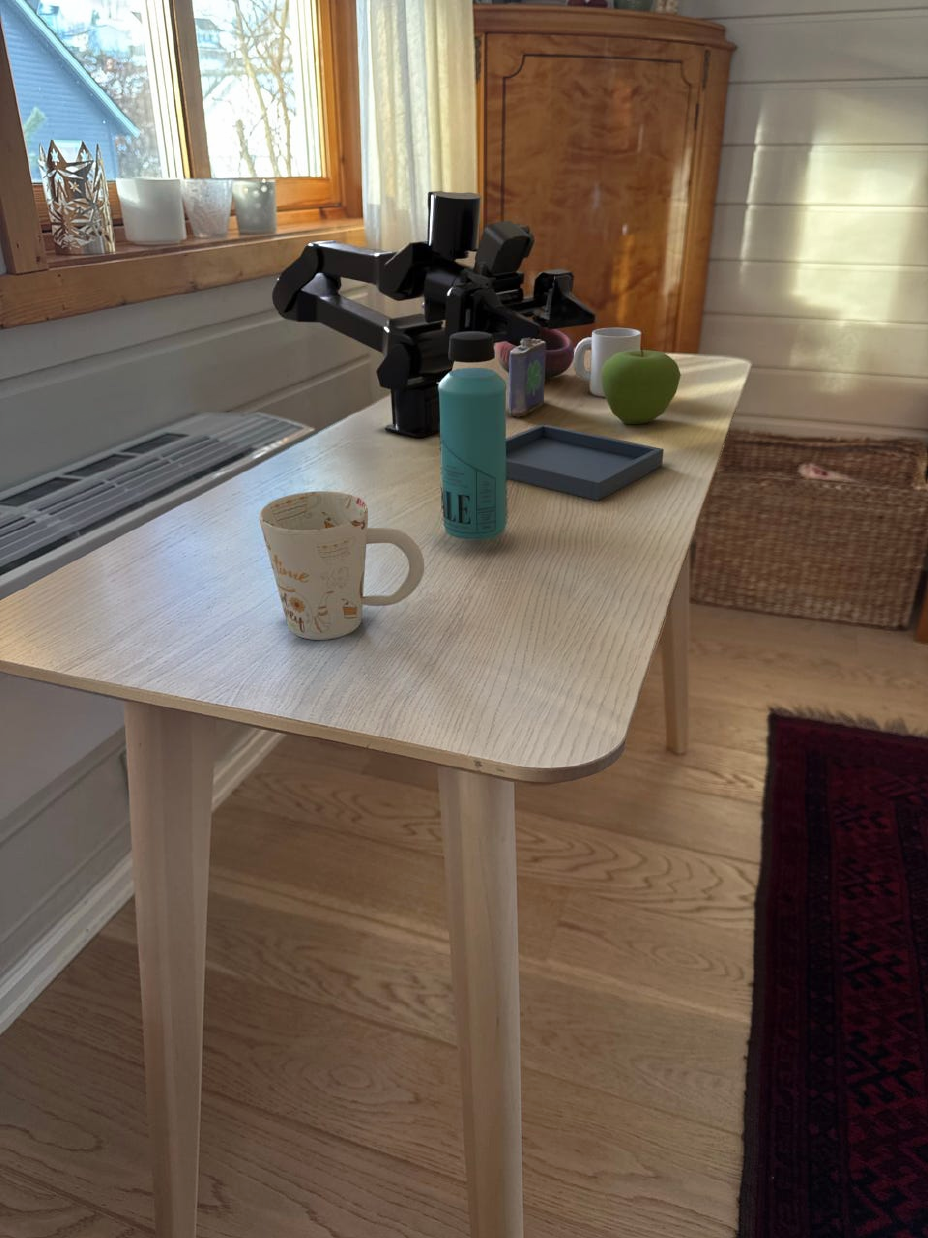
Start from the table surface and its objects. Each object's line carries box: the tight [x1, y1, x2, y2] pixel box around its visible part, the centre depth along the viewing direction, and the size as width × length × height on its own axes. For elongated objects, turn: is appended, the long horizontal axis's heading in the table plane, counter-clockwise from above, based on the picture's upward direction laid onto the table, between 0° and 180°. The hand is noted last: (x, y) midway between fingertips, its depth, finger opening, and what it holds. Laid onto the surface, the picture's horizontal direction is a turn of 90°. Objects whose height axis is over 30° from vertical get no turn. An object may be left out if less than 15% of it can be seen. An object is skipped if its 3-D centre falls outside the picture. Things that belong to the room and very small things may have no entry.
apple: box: [601, 347, 682, 425], centre depth 122 cm, size 11×10×10 cm
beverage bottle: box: [438, 331, 509, 541], centre depth 84 cm, size 6×7×20 cm
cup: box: [573, 327, 642, 398], centre depth 136 cm, size 7×10×9 cm
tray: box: [506, 423, 665, 502], centre depth 107 cm, size 18×15×2 cm
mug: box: [258, 490, 425, 641], centre depth 72 cm, size 8×13×10 cm, turn 95°
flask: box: [507, 338, 546, 418], centre depth 128 cm, size 9×3×11 cm, turn 151°
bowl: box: [494, 327, 575, 380], centre depth 145 cm, size 16×13×8 cm
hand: (567, 324), depth 98 cm, fingers open, 9 cm apart
